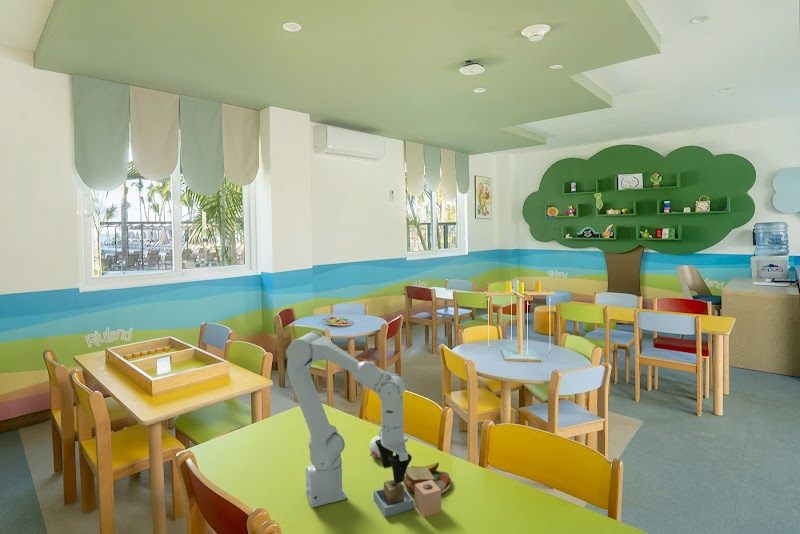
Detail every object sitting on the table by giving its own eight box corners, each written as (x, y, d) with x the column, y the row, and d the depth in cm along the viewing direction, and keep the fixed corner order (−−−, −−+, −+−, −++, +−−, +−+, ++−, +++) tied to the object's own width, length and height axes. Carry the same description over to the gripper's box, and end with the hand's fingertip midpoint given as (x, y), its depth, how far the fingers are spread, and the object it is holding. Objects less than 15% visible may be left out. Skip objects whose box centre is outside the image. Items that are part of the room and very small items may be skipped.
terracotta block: (423, 517, 113) (423, 494, 112) (414, 506, 117) (414, 484, 117) (441, 512, 115) (441, 489, 114) (431, 501, 119) (431, 479, 119)
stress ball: (383, 471, 140) (395, 455, 139) (362, 457, 139) (374, 440, 139) (386, 457, 147) (397, 442, 146) (365, 444, 147) (376, 428, 146)
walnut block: (389, 509, 115) (389, 490, 115) (384, 500, 119) (383, 481, 118) (404, 505, 117) (404, 486, 116) (398, 496, 120) (397, 478, 120)
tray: (384, 517, 112) (384, 508, 112) (373, 499, 120) (373, 491, 120) (414, 509, 116) (413, 500, 115) (401, 492, 123) (401, 483, 123)
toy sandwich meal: (456, 496, 121) (456, 479, 121) (406, 500, 120) (406, 483, 119) (445, 471, 134) (445, 456, 133) (400, 475, 132) (400, 459, 132)
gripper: (419, 432, 111) (419, 485, 112) (395, 410, 124) (396, 457, 125) (392, 438, 108) (393, 492, 109) (371, 414, 121) (372, 463, 122)
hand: (393, 474), depth 117 cm, fingers open, 7 cm apart
